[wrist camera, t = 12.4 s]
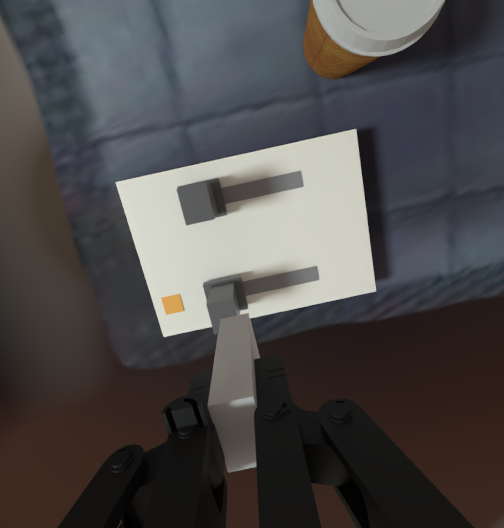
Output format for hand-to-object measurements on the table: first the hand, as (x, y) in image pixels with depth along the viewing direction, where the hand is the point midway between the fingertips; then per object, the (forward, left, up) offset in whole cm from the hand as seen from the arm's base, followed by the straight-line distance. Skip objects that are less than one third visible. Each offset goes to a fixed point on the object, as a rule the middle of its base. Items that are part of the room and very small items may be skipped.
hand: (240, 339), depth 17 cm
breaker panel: (-2, -2, -21) cm, 21 cm away
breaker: (+2, -7, -17) cm, 19 cm away
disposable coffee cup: (-14, -19, -21) cm, 31 cm away
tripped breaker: (+2, +3, -17) cm, 18 cm away
